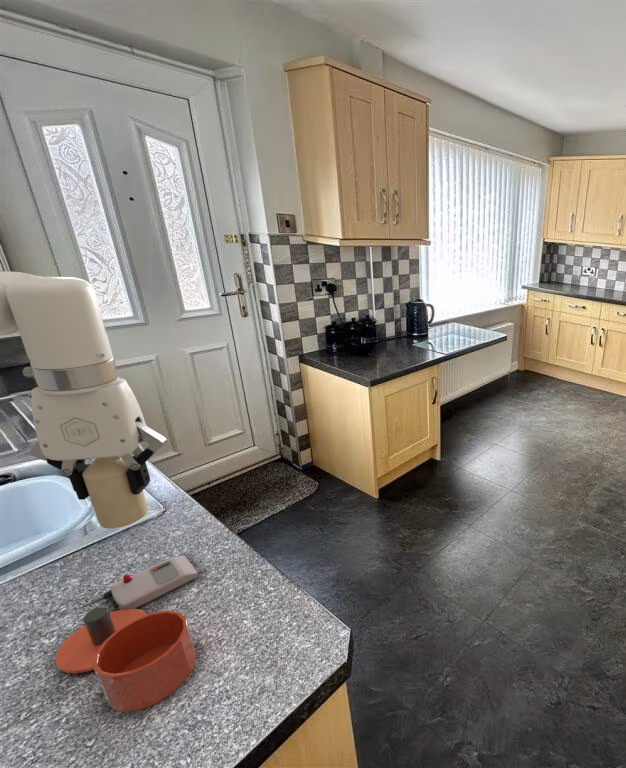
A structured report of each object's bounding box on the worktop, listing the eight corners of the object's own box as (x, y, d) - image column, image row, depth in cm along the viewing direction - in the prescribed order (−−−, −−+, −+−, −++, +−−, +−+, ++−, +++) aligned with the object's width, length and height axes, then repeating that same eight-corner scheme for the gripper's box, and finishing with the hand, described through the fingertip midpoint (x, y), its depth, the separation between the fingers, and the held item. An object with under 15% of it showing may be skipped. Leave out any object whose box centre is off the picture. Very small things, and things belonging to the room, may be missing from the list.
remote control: (210, 571, 75) (207, 557, 74) (91, 631, 63) (85, 616, 62) (196, 553, 79) (193, 540, 78) (81, 607, 67) (75, 593, 66)
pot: (90, 720, 52) (74, 684, 50) (132, 650, 61) (120, 617, 59) (178, 702, 55) (166, 667, 52) (207, 638, 63) (198, 605, 61)
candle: (155, 514, 64) (138, 456, 60) (107, 534, 59) (87, 473, 56) (139, 501, 66) (123, 445, 63) (93, 519, 62) (72, 460, 59)
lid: (37, 684, 56) (23, 653, 54) (87, 620, 65) (76, 592, 63) (127, 667, 58) (117, 638, 57) (163, 608, 68) (155, 581, 66)
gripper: (-34, 387, 49) (20, 515, 55) (141, 381, 54) (173, 500, 60) (17, 367, 56) (60, 483, 62) (169, 364, 61) (194, 472, 67)
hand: (115, 490), depth 61 cm, fingers closed on candle, 5 cm apart
